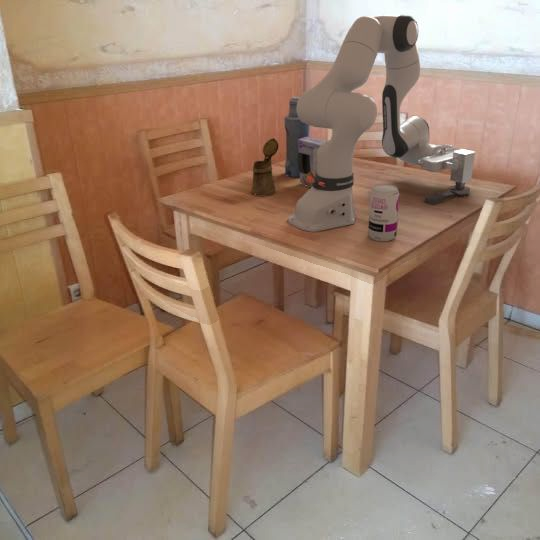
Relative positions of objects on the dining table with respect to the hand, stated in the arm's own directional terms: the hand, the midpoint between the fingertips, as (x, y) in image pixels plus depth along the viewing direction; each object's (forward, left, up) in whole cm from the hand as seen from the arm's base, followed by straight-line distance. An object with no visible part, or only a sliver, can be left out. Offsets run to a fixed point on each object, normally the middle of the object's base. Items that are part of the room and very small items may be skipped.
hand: (464, 165), depth 191 cm
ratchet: (-6, +1, -10) cm, 12 cm away
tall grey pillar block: (0, +1, -5) cm, 6 cm away
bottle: (-29, +57, -11) cm, 65 cm away
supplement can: (-48, -10, -11) cm, 50 cm away
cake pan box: (-34, +38, -11) cm, 52 cm away
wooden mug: (-50, +48, -11) cm, 70 cm away
